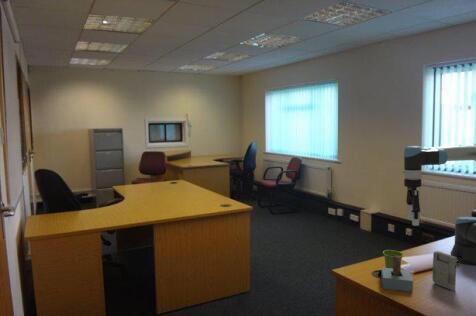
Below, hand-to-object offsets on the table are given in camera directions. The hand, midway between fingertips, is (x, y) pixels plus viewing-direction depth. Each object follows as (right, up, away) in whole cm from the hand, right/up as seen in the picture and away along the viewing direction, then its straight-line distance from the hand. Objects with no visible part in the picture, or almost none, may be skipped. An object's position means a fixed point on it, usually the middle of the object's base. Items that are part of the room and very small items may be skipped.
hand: (412, 221), depth 177 cm
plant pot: (-7, -26, +6) cm, 27 cm away
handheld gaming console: (+8, -27, -13) cm, 31 cm away
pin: (-13, -26, -11) cm, 31 cm away
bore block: (-13, -27, -11) cm, 32 cm away
